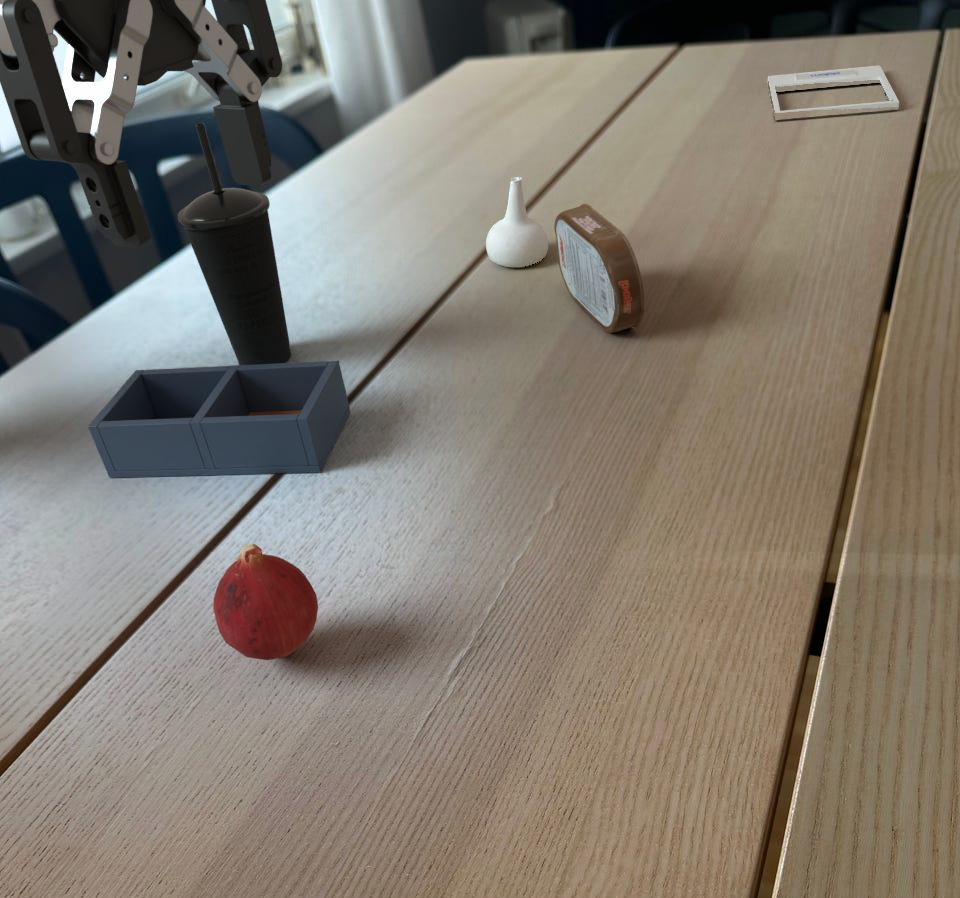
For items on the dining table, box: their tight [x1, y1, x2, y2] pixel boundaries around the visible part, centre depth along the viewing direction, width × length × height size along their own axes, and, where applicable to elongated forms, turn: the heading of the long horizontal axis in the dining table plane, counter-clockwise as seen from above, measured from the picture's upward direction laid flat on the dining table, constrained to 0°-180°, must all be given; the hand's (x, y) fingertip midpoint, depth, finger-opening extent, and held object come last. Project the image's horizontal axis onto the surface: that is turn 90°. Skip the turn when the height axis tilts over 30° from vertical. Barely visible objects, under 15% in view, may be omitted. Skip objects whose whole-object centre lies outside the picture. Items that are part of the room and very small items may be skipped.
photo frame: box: [767, 64, 900, 113], centre depth 132 cm, size 15×1×18 cm
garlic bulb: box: [485, 176, 549, 268], centre depth 101 cm, size 6×6×8 cm
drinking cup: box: [177, 122, 292, 365], centre depth 86 cm, size 8×8×20 cm
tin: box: [553, 203, 645, 334], centre depth 89 cm, size 15×3×8 cm, turn 17°
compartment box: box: [87, 360, 351, 479], centre depth 80 cm, size 18×9×5 cm, turn 81°
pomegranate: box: [212, 543, 319, 661], centre depth 58 cm, size 6×6×8 cm
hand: (195, 212), depth 50 cm, fingers open, 8 cm apart
